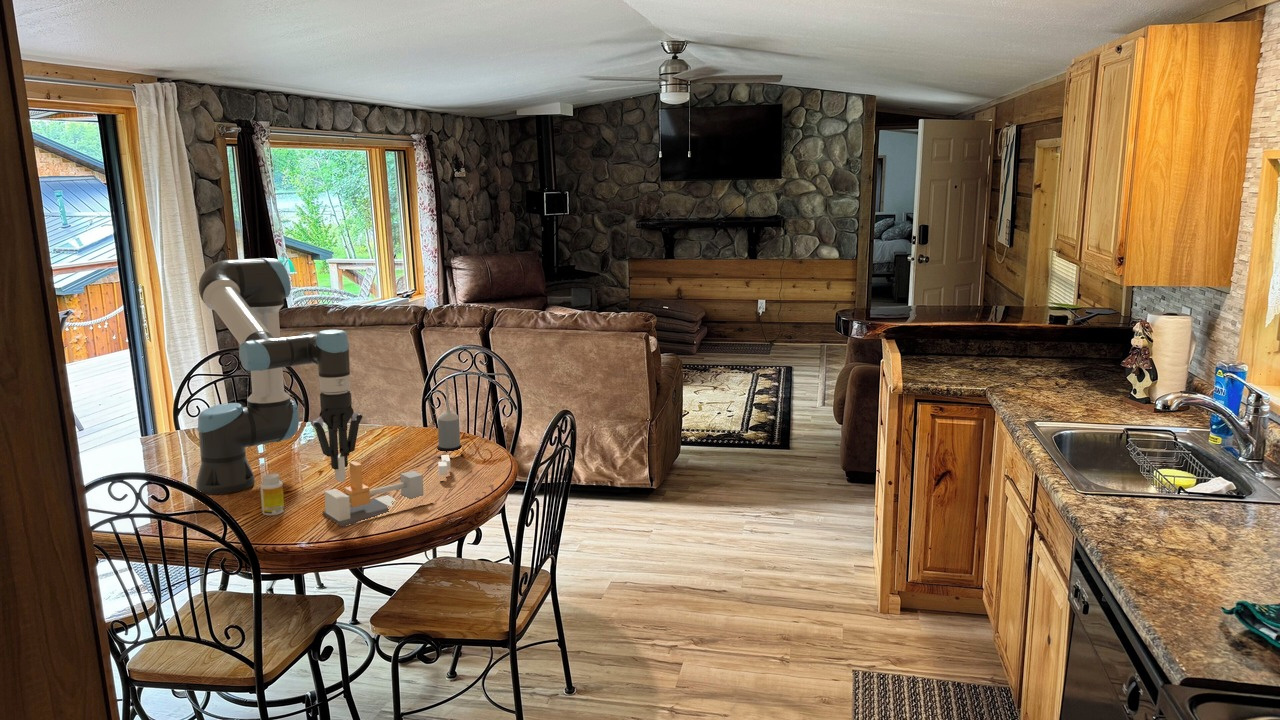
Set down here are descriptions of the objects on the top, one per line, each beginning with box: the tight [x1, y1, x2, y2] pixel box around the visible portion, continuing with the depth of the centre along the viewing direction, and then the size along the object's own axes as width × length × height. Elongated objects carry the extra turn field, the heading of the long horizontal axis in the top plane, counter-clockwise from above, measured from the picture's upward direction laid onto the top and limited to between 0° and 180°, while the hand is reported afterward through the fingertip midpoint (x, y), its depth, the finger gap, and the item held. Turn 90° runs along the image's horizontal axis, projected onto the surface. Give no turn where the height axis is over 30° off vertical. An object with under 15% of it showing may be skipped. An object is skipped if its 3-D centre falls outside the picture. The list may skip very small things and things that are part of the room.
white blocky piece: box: [437, 454, 451, 477], centre depth 261 cm, size 15×11×6 cm
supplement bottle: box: [259, 472, 286, 517], centre depth 229 cm, size 6×6×10 cm
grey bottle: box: [436, 379, 463, 452], centre depth 280 cm, size 8×8×25 cm
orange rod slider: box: [343, 460, 371, 508], centre depth 228 cm, size 5×4×11 cm
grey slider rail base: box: [322, 470, 425, 528], centre depth 233 cm, size 26×12×8 cm, turn 134°
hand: (340, 480), depth 225 cm, fingers closed
